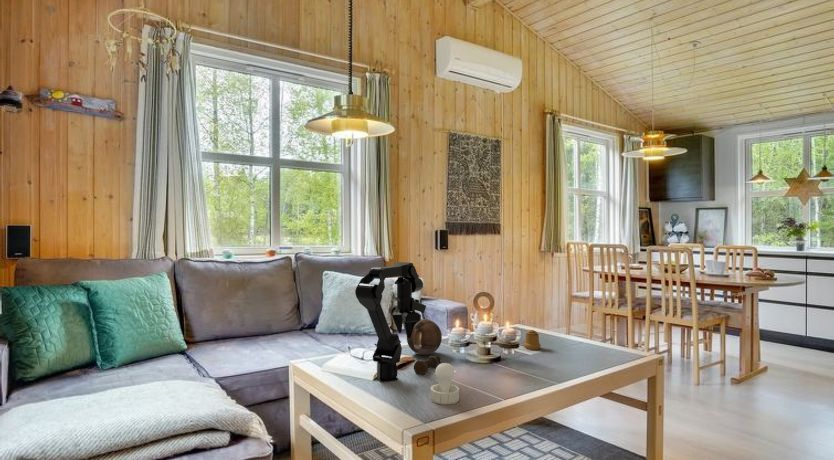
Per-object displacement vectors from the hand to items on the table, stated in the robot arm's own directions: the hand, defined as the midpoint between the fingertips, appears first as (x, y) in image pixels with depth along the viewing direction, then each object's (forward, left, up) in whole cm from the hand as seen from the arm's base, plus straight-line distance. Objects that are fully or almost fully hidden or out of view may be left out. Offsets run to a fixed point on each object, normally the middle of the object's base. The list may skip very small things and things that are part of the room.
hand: (404, 335), depth 186 cm
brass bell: (+65, +5, -13) cm, 66 cm away
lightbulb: (0, -34, -13) cm, 36 cm away
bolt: (+9, -4, -14) cm, 17 cm away
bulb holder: (0, -34, -13) cm, 36 cm away
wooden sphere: (+16, +15, -13) cm, 26 cm away
